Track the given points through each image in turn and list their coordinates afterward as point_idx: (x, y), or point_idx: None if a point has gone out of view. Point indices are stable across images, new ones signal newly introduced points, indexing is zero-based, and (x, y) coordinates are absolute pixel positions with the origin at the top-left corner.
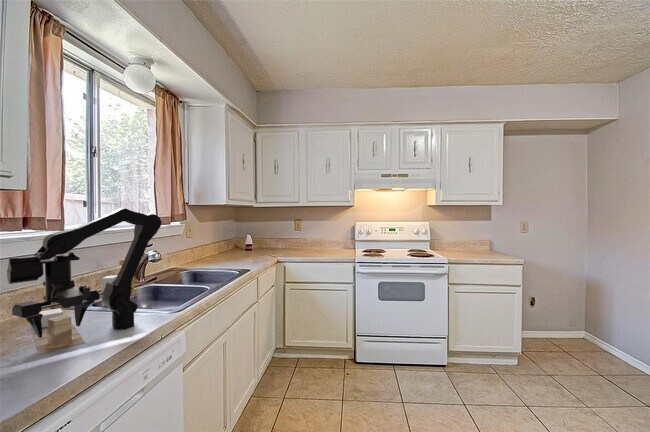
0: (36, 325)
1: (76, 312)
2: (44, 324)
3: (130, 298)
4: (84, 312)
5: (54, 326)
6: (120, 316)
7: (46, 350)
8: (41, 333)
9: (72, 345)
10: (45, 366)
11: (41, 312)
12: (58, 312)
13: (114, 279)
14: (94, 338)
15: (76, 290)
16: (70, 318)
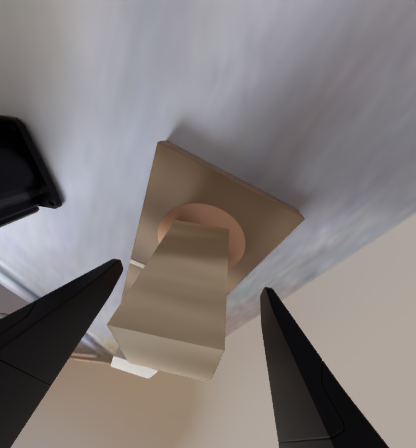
0: (340, 387)
1: (63, 344)
2: None
3: (3, 313)
4: (12, 314)
5: (225, 309)
6: None
7: (266, 225)
8: (275, 304)
9: (201, 172)
10: (387, 91)
11: (144, 375)
12: (121, 359)
13: None
14: (111, 193)
15: None
16: (119, 315)
